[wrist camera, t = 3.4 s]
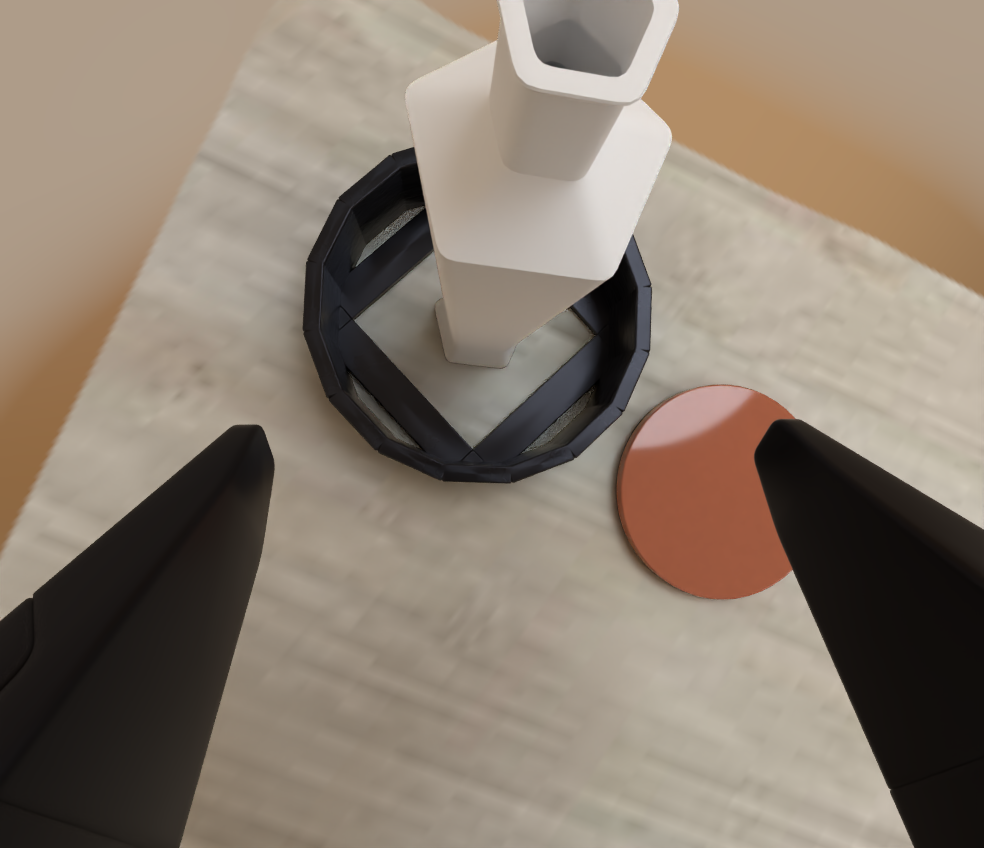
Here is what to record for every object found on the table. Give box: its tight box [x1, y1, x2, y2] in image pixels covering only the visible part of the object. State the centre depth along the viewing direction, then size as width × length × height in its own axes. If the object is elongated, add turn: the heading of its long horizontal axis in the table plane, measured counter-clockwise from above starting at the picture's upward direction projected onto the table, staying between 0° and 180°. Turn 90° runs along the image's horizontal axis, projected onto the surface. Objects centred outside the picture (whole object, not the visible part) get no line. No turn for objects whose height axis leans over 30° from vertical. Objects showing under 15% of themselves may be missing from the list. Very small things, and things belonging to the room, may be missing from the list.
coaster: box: [616, 385, 795, 599], centre depth 21 cm, size 9×9×1 cm
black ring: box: [303, 147, 652, 483], centre depth 19 cm, size 12×12×3 cm
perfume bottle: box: [405, 0, 679, 368], centre depth 13 cm, size 5×4×15 cm
